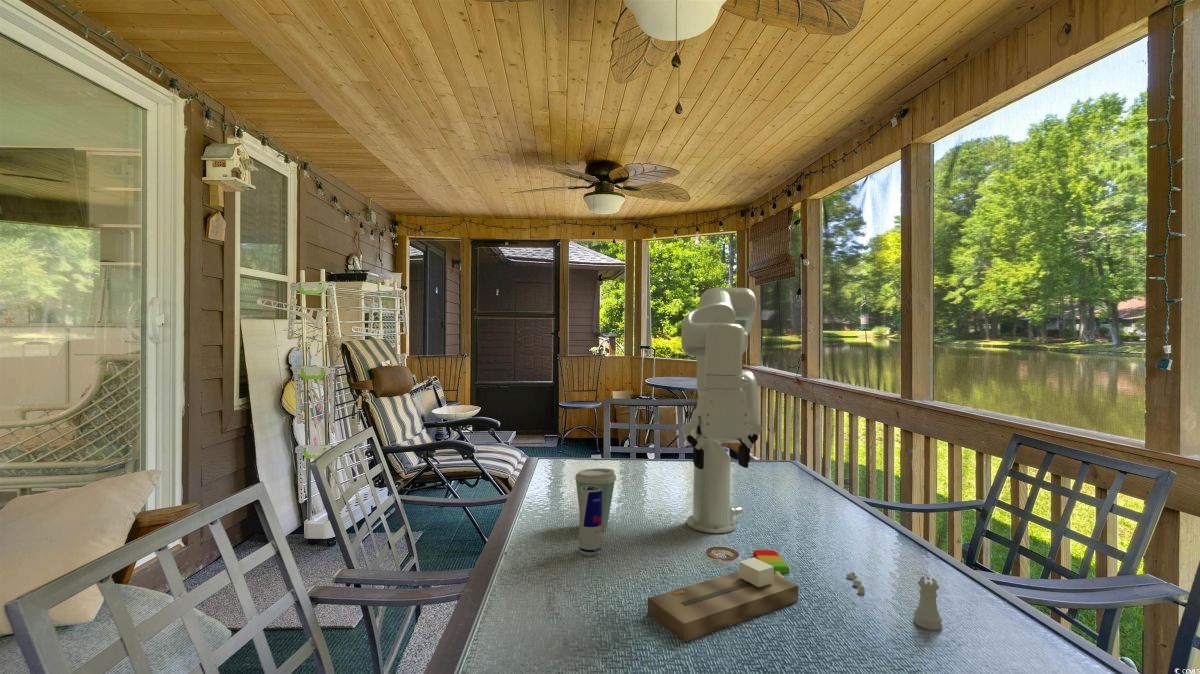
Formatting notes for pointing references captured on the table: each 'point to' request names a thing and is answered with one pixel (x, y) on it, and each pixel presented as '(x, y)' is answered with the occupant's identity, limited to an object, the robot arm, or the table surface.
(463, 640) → the table surface
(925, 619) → the rook chess piece
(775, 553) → the popsicle
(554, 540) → the table surface
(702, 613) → the console
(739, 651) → the table surface
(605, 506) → the disposable coffee cup
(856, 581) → the game pieces
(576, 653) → the table surface
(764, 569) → the fader knob
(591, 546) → the beverage can
